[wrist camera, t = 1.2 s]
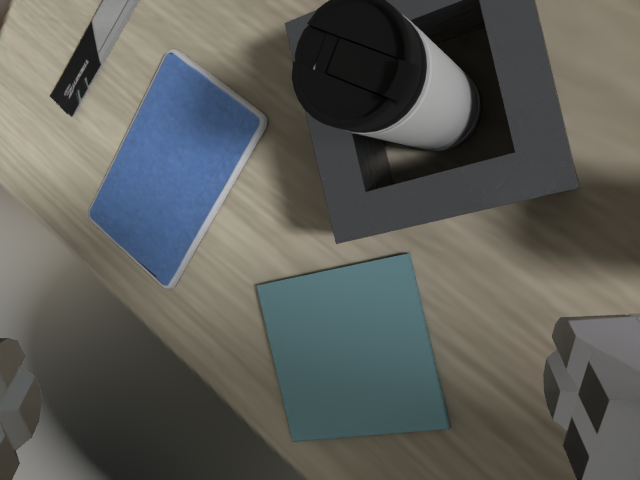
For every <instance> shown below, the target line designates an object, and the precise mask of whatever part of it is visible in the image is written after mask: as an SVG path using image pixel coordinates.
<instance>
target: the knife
mask: <svg viewBox="0 0 640 480" xmlns="http://www.w3.org/2000/svg"><path fill="white" fill-rule="evenodd" d="M139 1H140V0H102V1H101V3H100V5H99V6H98V8H97V10H96V12H95V14H94V16H93V17H92V19H91V21H90V23H89V25H88V27H87V28H86V30H85V32H84V34H83V36H82V39H80V41H79V43H78V45H77V47H76V49H75V51H74V52H73V54H72V56H71V58H70V60H69V62H68V63H67V65H66V67H65V69H64V71H63V73H62V74H61V76H60V78H59V80H58V82H57V84H56V85H55V87H54V89H53V91H52V93H51V95H50V97H51V98H52V99H53V100H54V101H56V103H57V104H58V105H60V107H61V108H62V109H63V110H64V111H65V112H66V113H67V114H68V113H69V114H70V115H71V116H73V115H75V113H76V112H77V110H78V108H79V106H80V105H81V103H82V101H83V99H84V98H85V96H86V94H87V92H88V91H89V89H90V87H91V85H92V83H93V82H94V80H95V78H96V76H97V75H98V73H99V71H100V69H101V68H102V66H103V64H104V62H105V61H106V59H107V57H108V55H109V53H110V52H111V50H112V48H113V46H114V45H115V43H116V41H117V39H118V38H119V36H120V34H121V32H122V31H123V29H124V27H125V25H126V24H127V22H128V20H129V18H130V16H131V15H132V13H133V11H134V9H135V8H136V6H137V4H138V2H139Z"/></svg>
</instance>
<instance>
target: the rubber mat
mask: <svg viewBox="0 0 640 480" xmlns="http://www.w3.org/2000/svg"><path fill="white" fill-rule="evenodd" d="M257 290H258V294H259V299H260V303H261V307H262V312H263V316H264V320H265V325H266V329H267V333H268V338H269V342H270V346H271V351H272V355H273V359H274V364H275V368H276V372H277V377H278V381H279V385H280V390H281V394H282V398H283V403H284V407H285V411H286V416H287V420H288V424H289V429H290V433H291V437H292V442H294V441H307V440H319V439H331V438H344V437H356V436H369V435H381V434H394V433H406V432H418V431H431V430H443V429H449V427H450V424H449V419H448V415H447V411H446V407H445V402H444V398H443V394H442V389H441V385H440V381H439V377H438V372H437V368H436V364H435V359H434V355H433V351H432V347H431V342H430V338H429V334H428V329H427V325H426V321H425V317H424V312H423V308H422V304H421V299H420V295H419V291H418V287H417V282H416V278H415V274H414V270H413V265H412V261H411V257H410V253H407V254H402V255H397V256H392V257H388V258H383V259H378V260H374V261H369V262H364V263H359V264H355V265H350V266H345V267H341V268H336V269H331V270H327V271H322V272H317V273H312V274H308V275H303V276H298V277H294V278H289V279H284V280H279V281H275V282H270V283H265V284H261V285H257Z"/></svg>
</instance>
